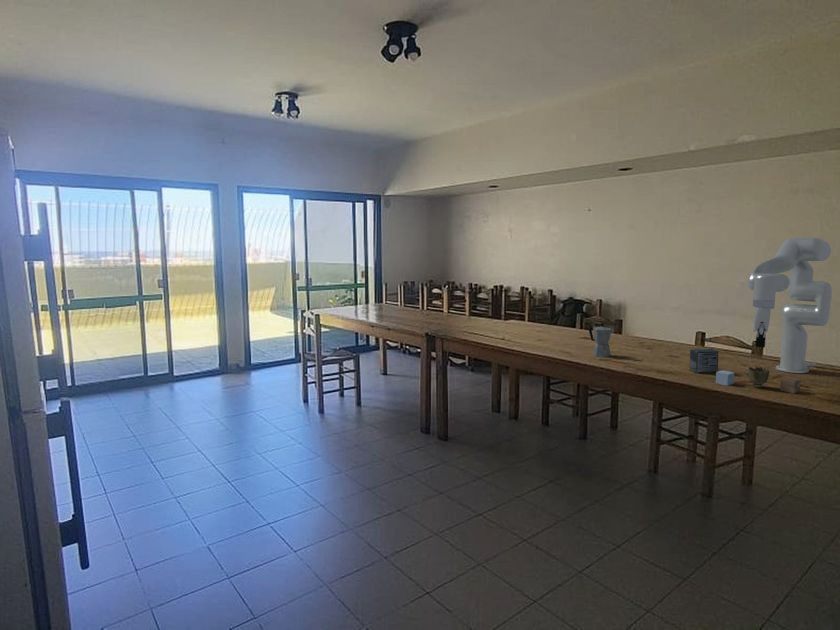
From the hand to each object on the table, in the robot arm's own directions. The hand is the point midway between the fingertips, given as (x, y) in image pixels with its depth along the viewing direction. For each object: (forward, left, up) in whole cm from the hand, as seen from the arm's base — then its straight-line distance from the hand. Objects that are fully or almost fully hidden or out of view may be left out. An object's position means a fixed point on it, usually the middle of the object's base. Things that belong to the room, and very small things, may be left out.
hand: (760, 345), depth 212 cm
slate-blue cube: (+10, -7, -18) cm, 22 cm away
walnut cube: (-10, +5, -18) cm, 21 cm away
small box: (+9, -27, -18) cm, 34 cm away
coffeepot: (+46, -65, -18) cm, 82 cm away
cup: (0, 0, -18) cm, 18 cm away
